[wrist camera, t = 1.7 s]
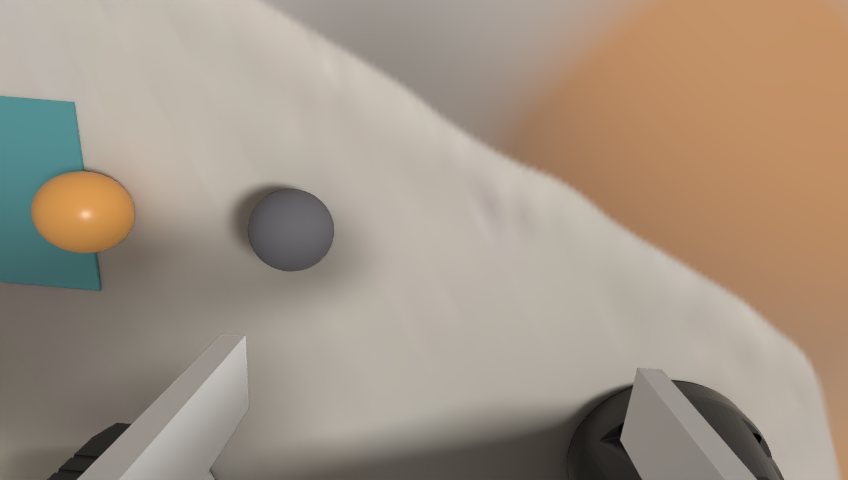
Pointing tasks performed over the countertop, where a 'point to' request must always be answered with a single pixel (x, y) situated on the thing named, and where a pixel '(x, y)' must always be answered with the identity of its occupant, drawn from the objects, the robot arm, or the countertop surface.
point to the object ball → (83, 212)
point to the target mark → (20, 180)
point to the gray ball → (290, 230)
